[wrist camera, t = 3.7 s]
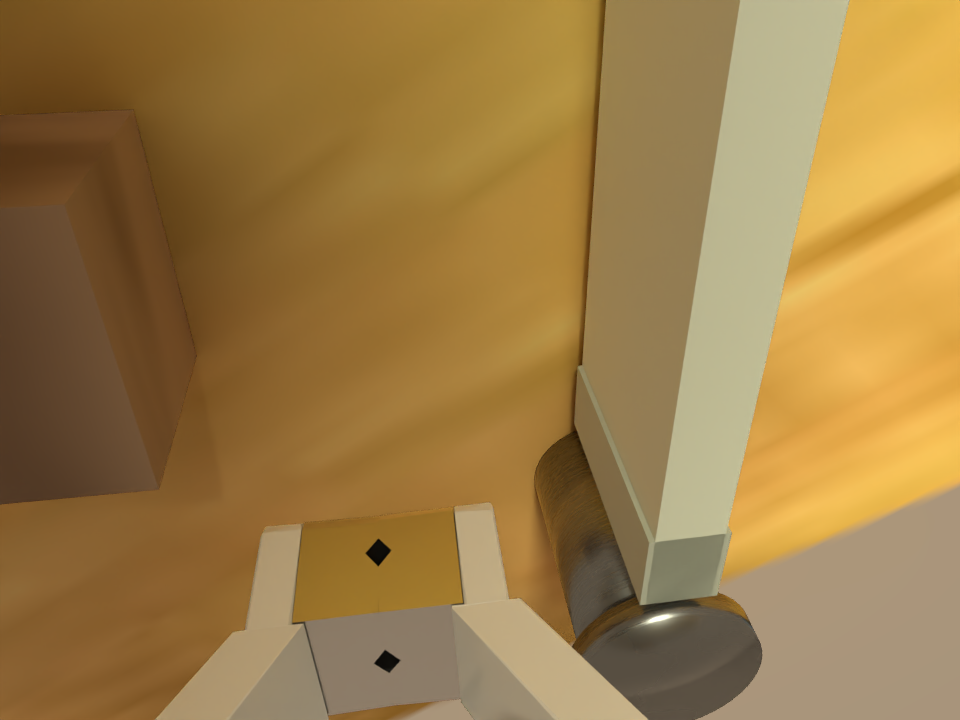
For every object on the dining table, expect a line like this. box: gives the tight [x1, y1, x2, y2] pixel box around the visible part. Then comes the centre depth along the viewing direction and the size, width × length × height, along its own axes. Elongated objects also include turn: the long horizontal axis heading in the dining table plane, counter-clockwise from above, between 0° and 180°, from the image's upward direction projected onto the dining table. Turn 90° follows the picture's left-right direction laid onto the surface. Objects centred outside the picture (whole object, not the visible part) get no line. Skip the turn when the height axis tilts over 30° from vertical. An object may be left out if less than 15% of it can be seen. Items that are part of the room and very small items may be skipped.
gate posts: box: [534, 431, 762, 720], centre depth 12 cm, size 4×23×6 cm, turn 2°
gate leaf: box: [574, 0, 849, 605], centre depth 11 cm, size 1×15×5 cm, turn 2°
